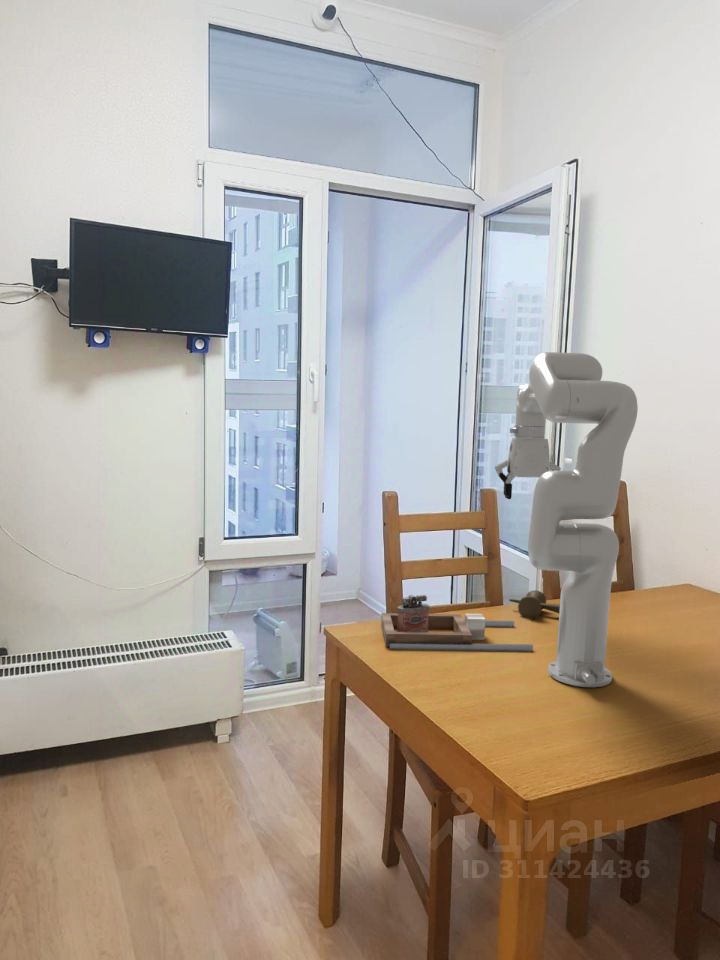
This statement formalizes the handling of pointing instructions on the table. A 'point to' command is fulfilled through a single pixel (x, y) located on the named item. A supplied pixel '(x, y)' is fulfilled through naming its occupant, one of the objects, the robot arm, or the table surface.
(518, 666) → the table surface
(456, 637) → the sliding frame
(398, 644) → the guide rails
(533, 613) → the kendama
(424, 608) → the lighter
